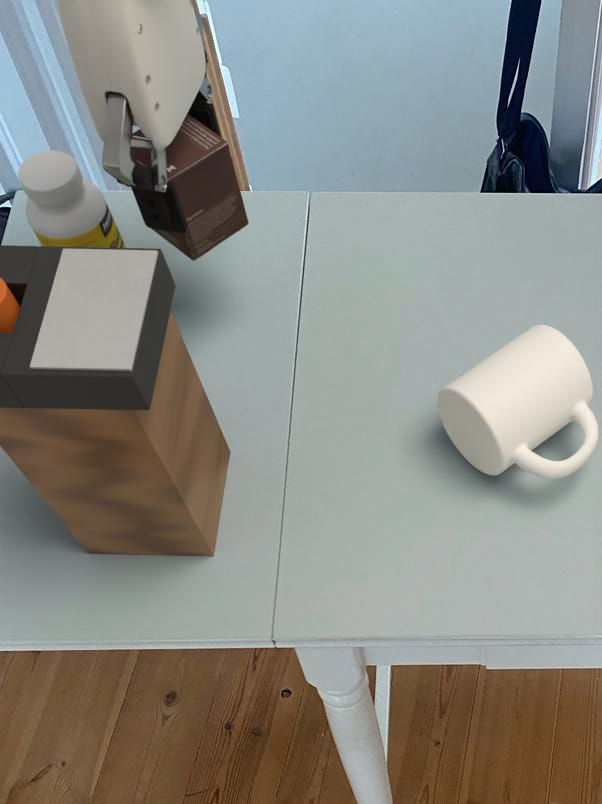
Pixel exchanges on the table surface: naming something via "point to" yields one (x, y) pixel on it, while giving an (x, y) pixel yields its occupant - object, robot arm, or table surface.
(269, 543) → the table surface
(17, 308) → the button
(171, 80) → the robot arm
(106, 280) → the scale
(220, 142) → the box
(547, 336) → the mug
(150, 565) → the table surface
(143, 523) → the block
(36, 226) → the pill bottle
